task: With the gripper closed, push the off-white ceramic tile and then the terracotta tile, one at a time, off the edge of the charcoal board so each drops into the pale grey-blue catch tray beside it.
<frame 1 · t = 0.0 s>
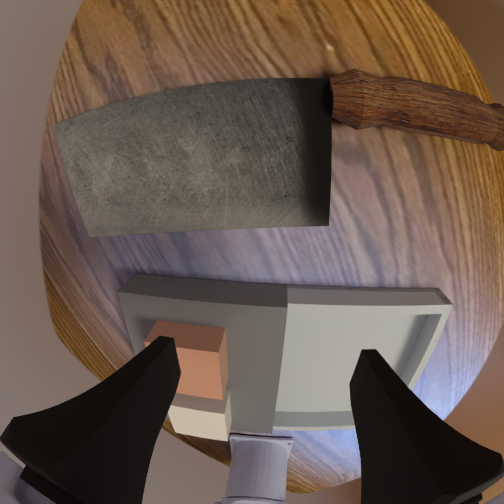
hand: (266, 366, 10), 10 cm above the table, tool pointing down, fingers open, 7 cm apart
meat cleaver: (295, 158, 17), on the table
tile terracotta: (194, 350, 19), point 3 cm above the table, touching board
catch tray: (350, 363, 22), on the table
tile white: (203, 403, 22), point 3 cm above the table, touching board
board: (212, 356, 23), on the table
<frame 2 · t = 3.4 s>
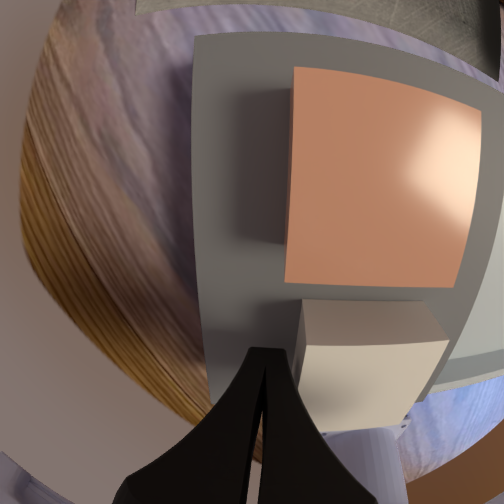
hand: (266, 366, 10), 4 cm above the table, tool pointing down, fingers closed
meat cleaver: (460, 4, 6), on the table
tile terracotta: (367, 174, 8), point 3 cm above the table, touching board
tile white: (353, 350, 10), point 3 cm above the table
board: (348, 245, 12), on the table
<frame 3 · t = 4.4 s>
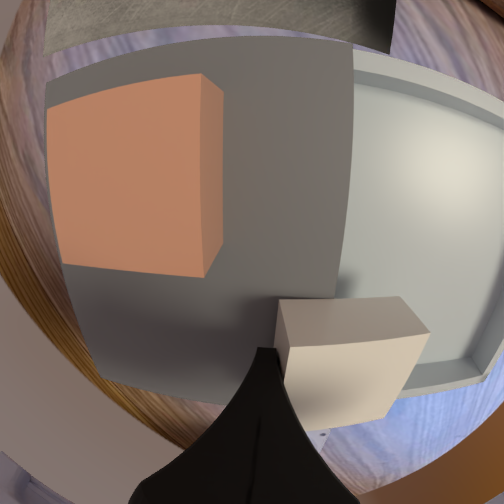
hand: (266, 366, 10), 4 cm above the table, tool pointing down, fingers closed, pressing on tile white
tile terracotta: (150, 170, 9), point 3 cm above the table, touching board
catch tray: (443, 254, 12), on the table
tile white: (332, 348, 11), point 3 cm above the table, tilted 8°, touching board, gripper
board: (194, 238, 13), on the table
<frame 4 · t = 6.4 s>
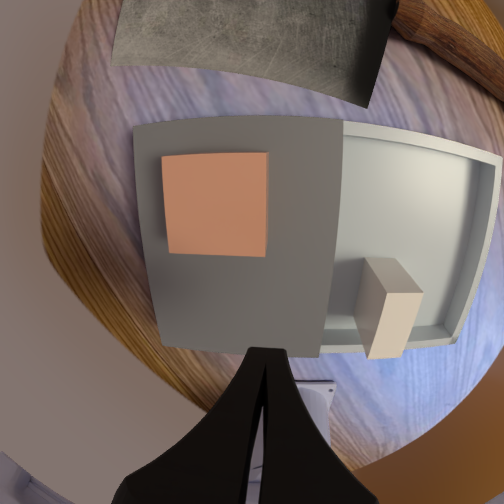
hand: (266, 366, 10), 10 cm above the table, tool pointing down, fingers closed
meat cleaver: (349, 47, 14), on the table
tile terracotta: (223, 196, 15), point 3 cm above the table, touching board
catch tray: (409, 245, 18), on the table
tile white: (367, 306, 17), point 3 cm above the table, tilted 90°, touching catch tray
board: (240, 237, 19), on the table
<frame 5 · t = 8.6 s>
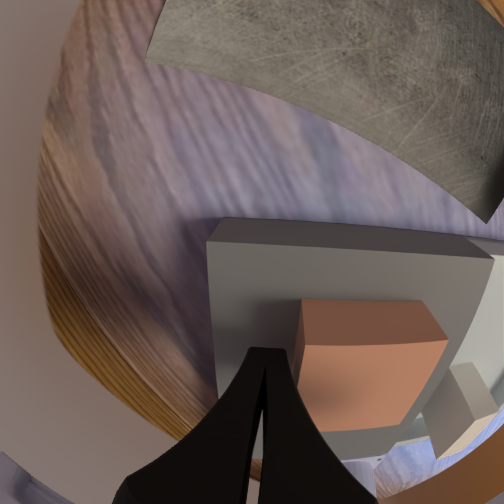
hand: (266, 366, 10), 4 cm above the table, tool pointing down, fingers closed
meat cleaver: (490, 128, 9), on the table
tile terracotta: (353, 350, 10), point 3 cm above the table, touching board, gripper
catch tray: (485, 346, 13), on the table
tile white: (444, 415, 12), point 3 cm above the table, tilted 90°, touching catch tray
board: (332, 360, 15), on the table
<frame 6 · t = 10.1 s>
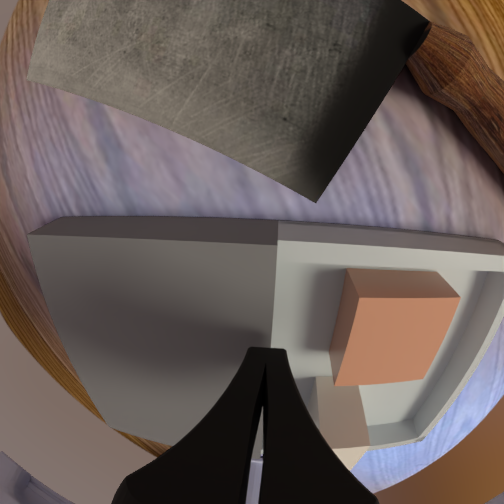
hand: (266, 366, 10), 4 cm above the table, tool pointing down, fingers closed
meat cleaver: (325, 86, 10), on the table
tile terracotta: (398, 346, 10), point 3 cm above the table, tilted 180°, touching catch tray
catch tray: (377, 359, 14), on the table
tile white: (310, 432, 13), point 3 cm above the table, tilted 90°, touching catch tray
board: (169, 347, 15), on the table
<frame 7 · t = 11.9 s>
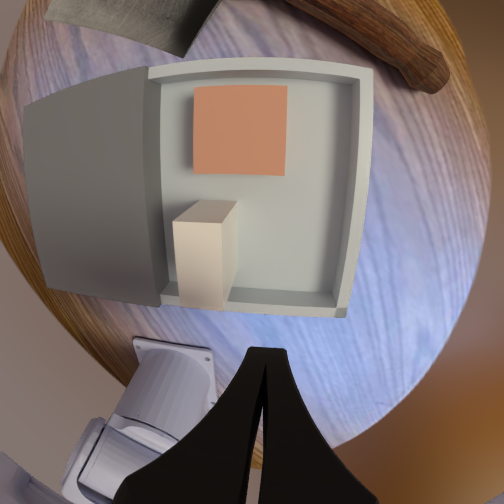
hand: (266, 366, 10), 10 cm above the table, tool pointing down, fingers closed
meat cleaver: (198, 3, 13), on the table
tile terracotta: (238, 128, 14), point 3 cm above the table, tilted 180°, touching catch tray
catch tray: (257, 186, 18), on the table
tile white: (190, 249, 16), point 3 cm above the table, tilted 90°, touching catch tray
board: (97, 188, 19), on the table
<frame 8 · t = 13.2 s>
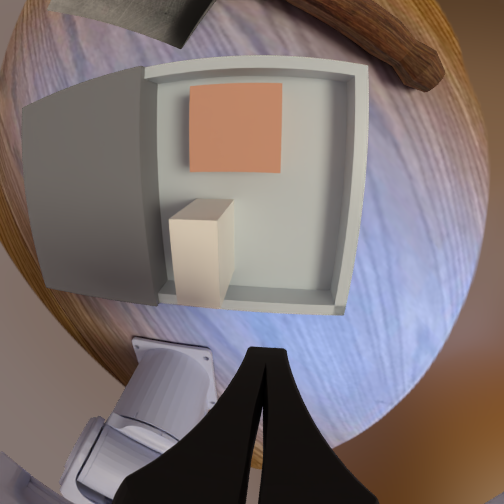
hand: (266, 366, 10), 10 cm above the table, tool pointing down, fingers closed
tile terracotta: (234, 126, 14), point 3 cm above the table, tilted 180°, touching catch tray
catch tray: (254, 184, 18), on the table
tile white: (187, 247, 16), point 3 cm above the table, tilted 90°, touching catch tray
board: (95, 188, 19), on the table
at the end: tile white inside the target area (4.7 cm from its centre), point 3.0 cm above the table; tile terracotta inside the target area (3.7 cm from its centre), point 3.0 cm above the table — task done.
